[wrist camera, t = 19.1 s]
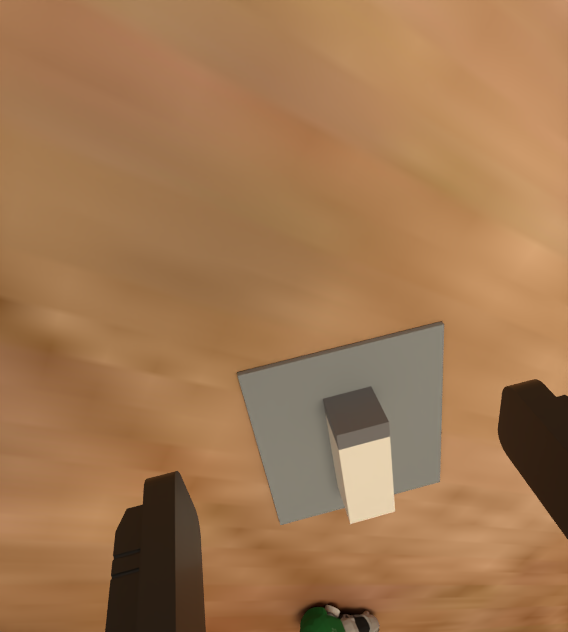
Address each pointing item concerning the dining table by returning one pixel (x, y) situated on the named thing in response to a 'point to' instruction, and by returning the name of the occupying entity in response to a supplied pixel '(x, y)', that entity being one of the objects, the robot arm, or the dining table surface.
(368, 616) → the toy
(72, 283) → the dining table surface
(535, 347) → the dining table surface
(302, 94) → the dining table surface
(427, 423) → the slate mat
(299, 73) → the dining table surface
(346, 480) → the cream block
